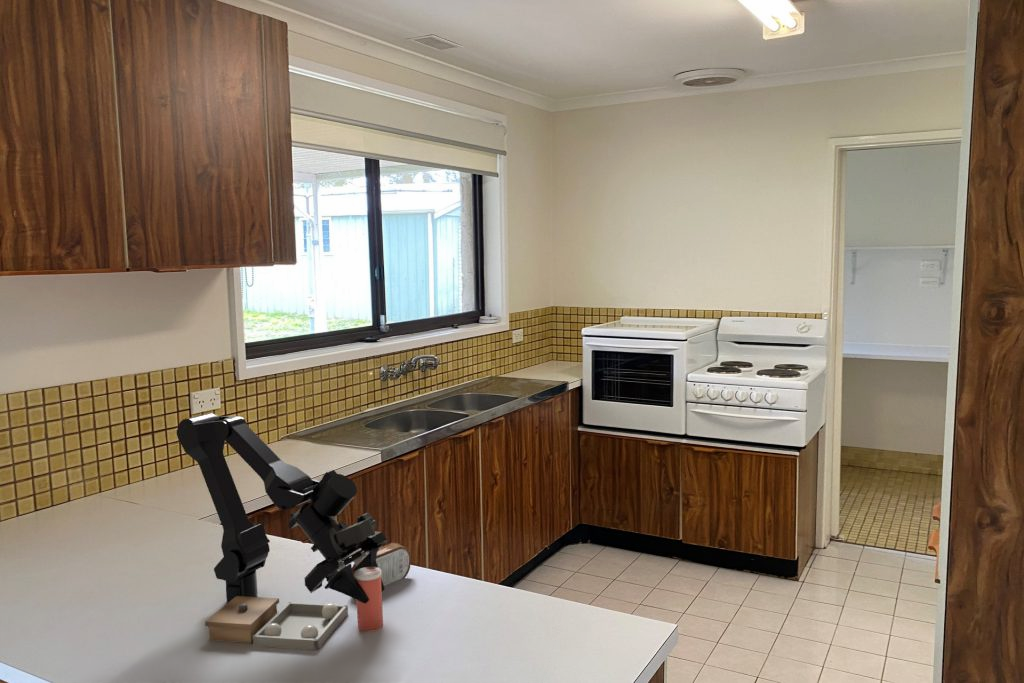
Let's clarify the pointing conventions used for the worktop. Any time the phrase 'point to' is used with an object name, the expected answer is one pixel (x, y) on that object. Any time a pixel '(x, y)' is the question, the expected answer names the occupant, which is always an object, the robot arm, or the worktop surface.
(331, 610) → the pebble
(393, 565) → the tin
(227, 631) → the lidded box
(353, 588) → the robot arm
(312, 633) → the white glossy ball
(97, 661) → the worktop surface
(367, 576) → the scoop cup
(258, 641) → the tray
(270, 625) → the shiny white sphere
